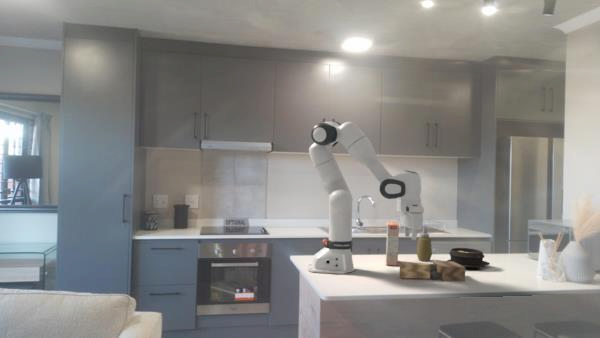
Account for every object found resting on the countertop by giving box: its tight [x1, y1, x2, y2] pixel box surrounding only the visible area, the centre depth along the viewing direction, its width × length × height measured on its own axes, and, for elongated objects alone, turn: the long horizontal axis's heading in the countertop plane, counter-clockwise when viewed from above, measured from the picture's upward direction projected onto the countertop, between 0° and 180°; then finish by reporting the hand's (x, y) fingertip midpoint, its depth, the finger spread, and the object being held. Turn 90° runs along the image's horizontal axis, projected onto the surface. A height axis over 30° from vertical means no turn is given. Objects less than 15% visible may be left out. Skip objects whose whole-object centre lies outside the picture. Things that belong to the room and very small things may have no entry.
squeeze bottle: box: [416, 226, 433, 262], centre depth 224 cm, size 8×8×18 cm
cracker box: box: [385, 221, 400, 267], centre depth 215 cm, size 14×6×21 cm, turn 168°
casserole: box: [446, 247, 490, 270], centre depth 211 cm, size 25×19×8 cm
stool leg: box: [399, 262, 437, 279], centre depth 183 cm, size 16×3×6 cm, turn 93°
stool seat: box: [429, 260, 466, 282], centre depth 187 cm, size 15×12×6 cm
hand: (410, 238), depth 183 cm, fingers open, 8 cm apart
